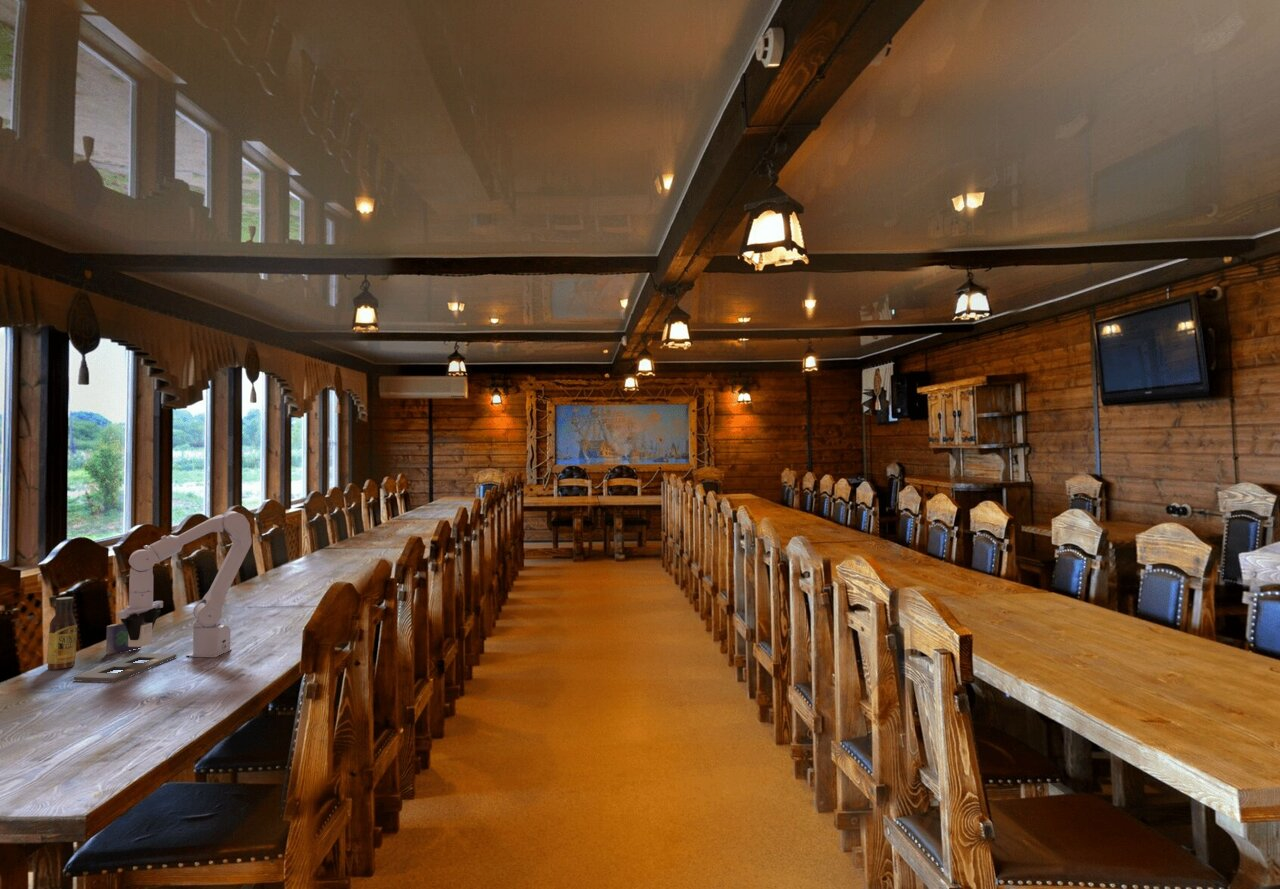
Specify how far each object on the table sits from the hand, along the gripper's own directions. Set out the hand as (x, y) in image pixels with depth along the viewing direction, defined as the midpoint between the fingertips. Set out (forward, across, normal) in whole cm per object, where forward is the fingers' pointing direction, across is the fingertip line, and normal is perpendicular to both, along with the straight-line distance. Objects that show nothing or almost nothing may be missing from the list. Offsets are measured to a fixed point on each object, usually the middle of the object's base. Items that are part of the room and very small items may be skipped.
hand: (140, 637), depth 201 cm
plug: (+2, 0, 0) cm, 2 cm away
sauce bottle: (+8, +4, -20) cm, 22 cm away
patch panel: (+8, +4, 0) cm, 9 cm away
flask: (+8, -12, -15) cm, 21 cm away
